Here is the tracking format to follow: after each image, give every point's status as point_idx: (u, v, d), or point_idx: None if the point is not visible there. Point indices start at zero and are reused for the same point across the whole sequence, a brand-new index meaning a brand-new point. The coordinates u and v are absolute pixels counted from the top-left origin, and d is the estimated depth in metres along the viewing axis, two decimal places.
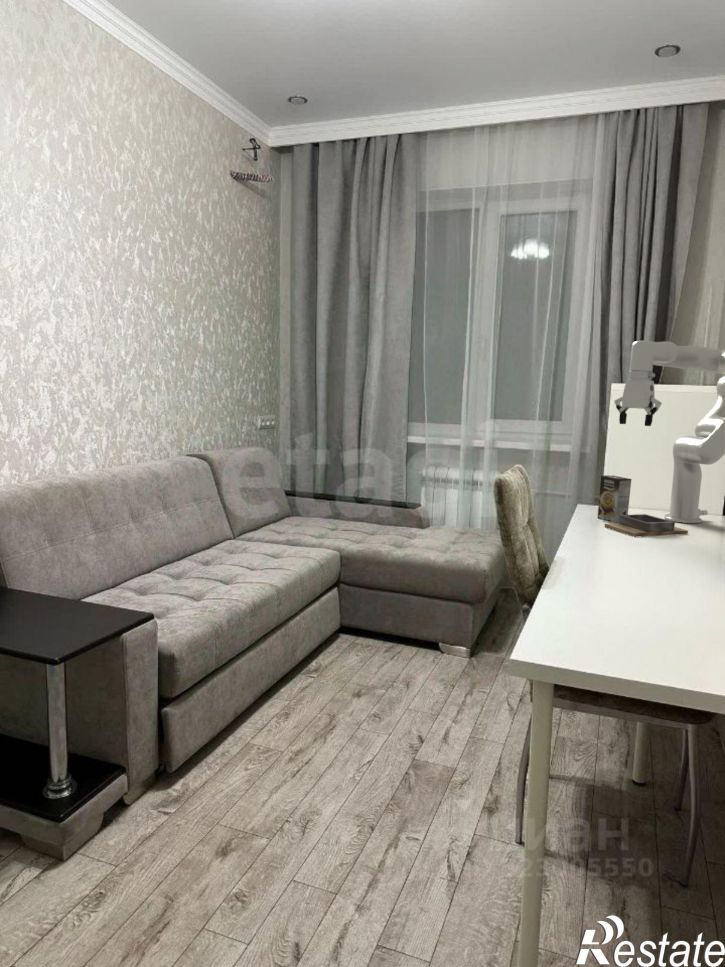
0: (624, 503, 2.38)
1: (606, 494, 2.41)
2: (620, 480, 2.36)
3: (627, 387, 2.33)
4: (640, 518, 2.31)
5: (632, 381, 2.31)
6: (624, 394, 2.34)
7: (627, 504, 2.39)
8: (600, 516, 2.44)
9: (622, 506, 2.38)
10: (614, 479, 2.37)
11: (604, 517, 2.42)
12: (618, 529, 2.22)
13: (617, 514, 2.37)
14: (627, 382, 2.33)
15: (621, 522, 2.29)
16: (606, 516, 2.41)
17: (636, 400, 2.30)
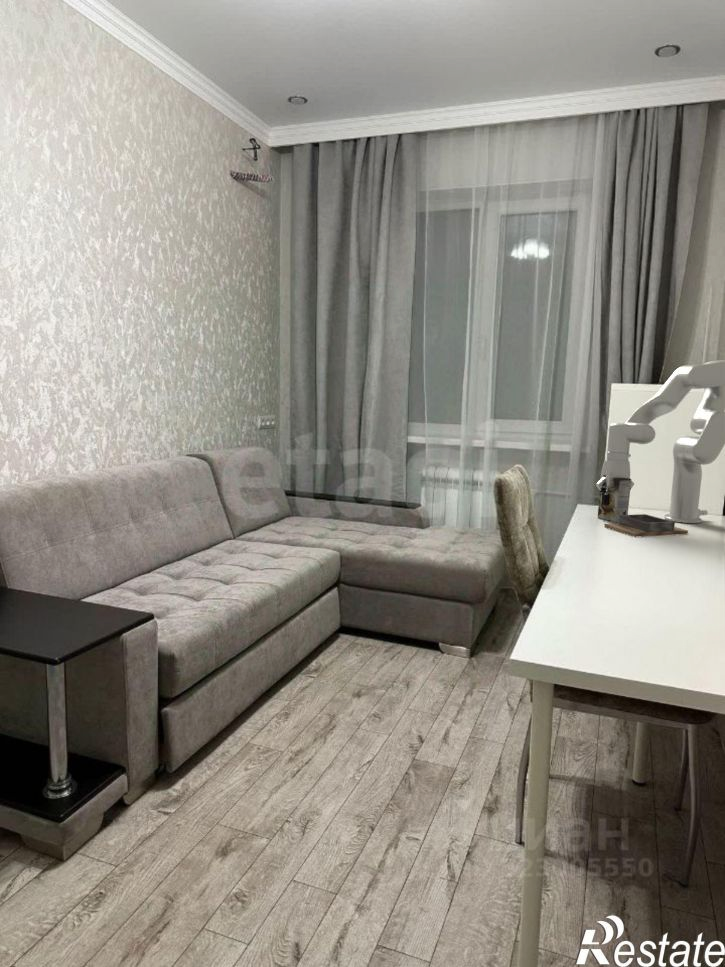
0: (624, 503, 2.38)
1: None
2: (620, 480, 2.36)
3: (614, 468, 2.37)
4: (640, 518, 2.31)
5: (618, 462, 2.37)
6: (610, 475, 2.37)
7: (627, 504, 2.39)
8: (600, 516, 2.44)
9: (622, 506, 2.38)
10: (614, 479, 2.37)
11: (604, 517, 2.42)
12: (618, 529, 2.22)
13: (617, 513, 2.37)
14: (613, 463, 2.37)
15: (621, 522, 2.29)
16: (606, 516, 2.41)
17: None
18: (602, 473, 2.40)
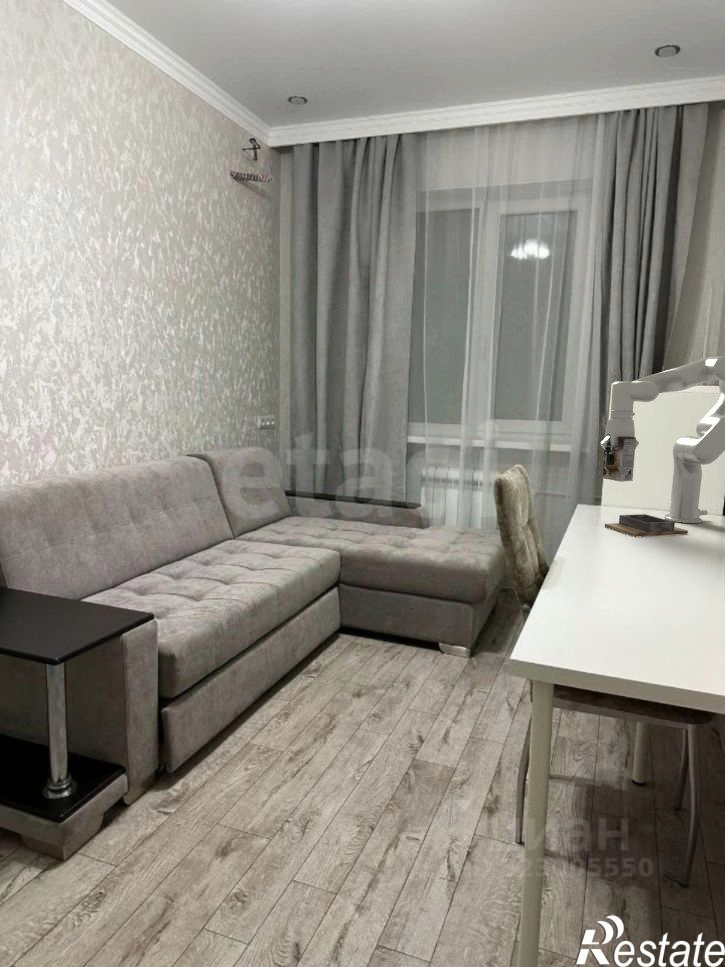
0: (629, 462, 2.36)
1: None
2: (624, 438, 2.33)
3: (618, 427, 2.35)
4: (640, 518, 2.31)
5: (623, 421, 2.35)
6: (615, 434, 2.35)
7: (632, 463, 2.37)
8: (605, 476, 2.42)
9: (627, 465, 2.36)
10: (618, 438, 2.35)
11: (609, 477, 2.40)
12: (618, 529, 2.22)
13: (622, 473, 2.35)
14: (617, 422, 2.35)
15: (621, 522, 2.29)
16: (611, 476, 2.39)
17: None
18: (606, 432, 2.38)
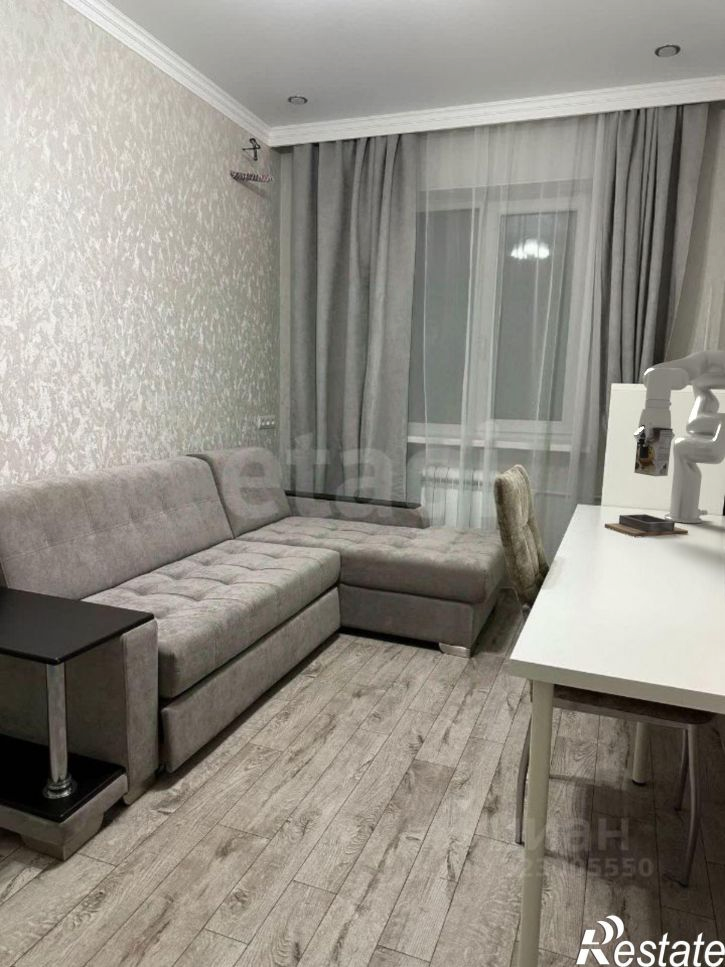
0: (665, 455, 2.18)
1: None
2: (661, 430, 2.15)
3: (654, 417, 2.16)
4: (640, 518, 2.31)
5: (659, 411, 2.16)
6: (650, 425, 2.17)
7: (668, 457, 2.18)
8: (637, 471, 2.24)
9: (663, 459, 2.17)
10: (654, 429, 2.17)
11: (642, 471, 2.22)
12: (618, 529, 2.22)
13: (657, 467, 2.17)
14: (653, 412, 2.16)
15: (621, 522, 2.29)
16: (645, 470, 2.21)
17: None
18: (640, 423, 2.20)
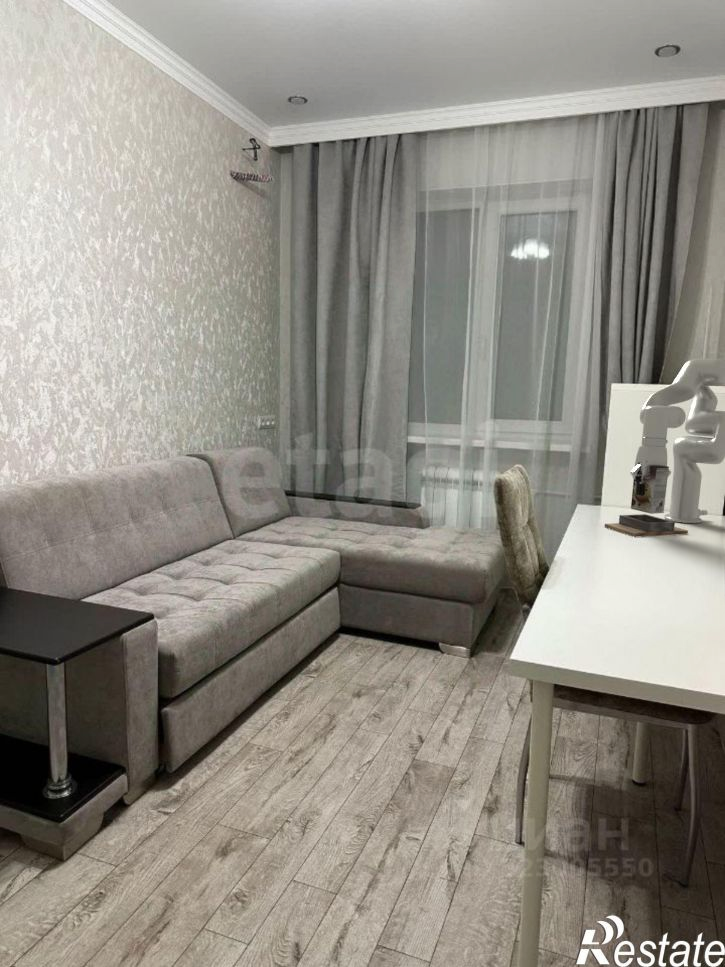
0: (661, 493, 2.19)
1: None
2: (657, 468, 2.17)
3: (650, 455, 2.18)
4: (640, 518, 2.31)
5: (655, 449, 2.18)
6: (646, 462, 2.18)
7: (664, 494, 2.20)
8: (634, 507, 2.25)
9: (659, 496, 2.19)
10: (650, 467, 2.18)
11: (638, 508, 2.23)
12: (618, 529, 2.22)
13: (653, 504, 2.19)
14: (649, 450, 2.18)
15: (621, 522, 2.29)
16: (641, 507, 2.22)
17: None
18: (637, 460, 2.21)
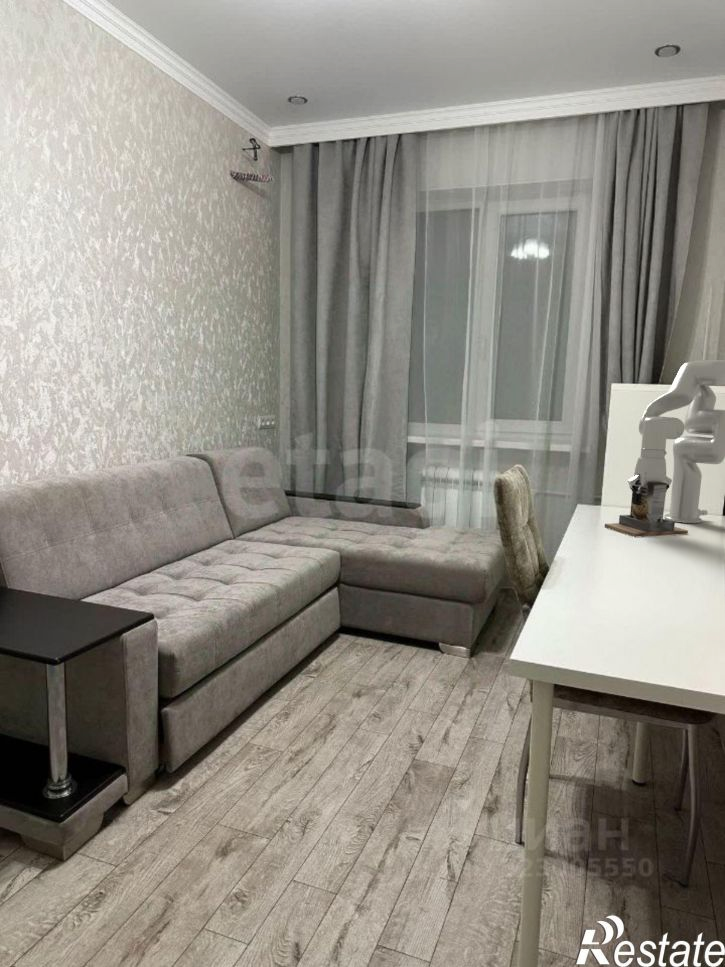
0: (659, 509, 2.20)
1: None
2: (654, 484, 2.18)
3: (649, 466, 2.19)
4: None
5: (654, 460, 2.19)
6: (645, 474, 2.19)
7: (662, 511, 2.21)
8: None
9: (657, 513, 2.20)
10: (648, 483, 2.19)
11: None
12: (618, 529, 2.22)
13: (651, 521, 2.20)
14: (648, 461, 2.19)
15: (621, 522, 2.29)
16: None
17: (657, 480, 2.21)
18: (636, 472, 2.22)
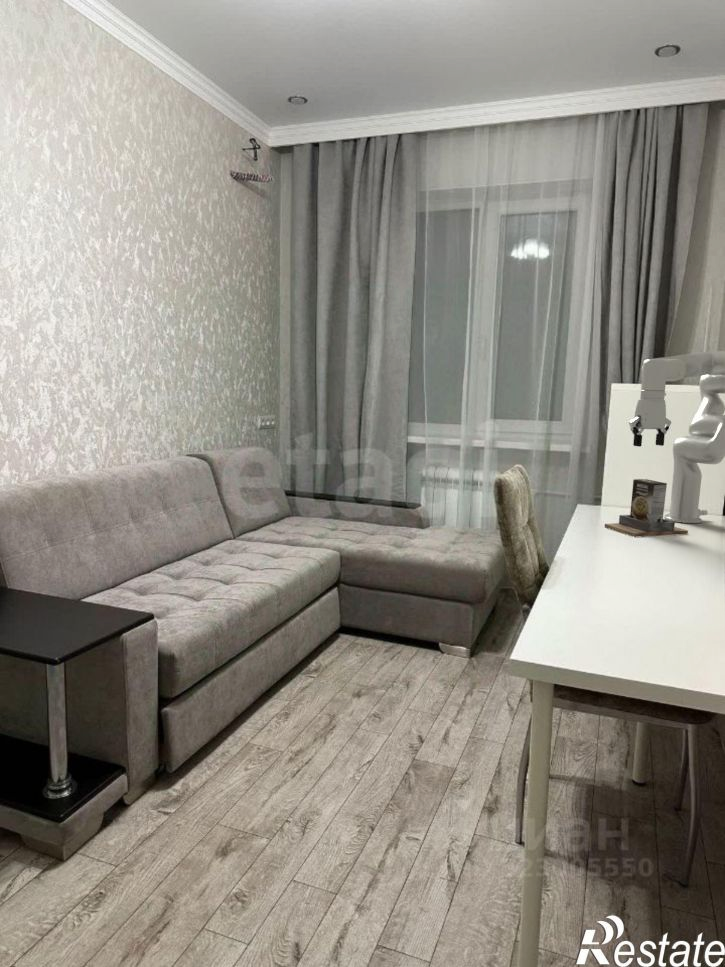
0: (659, 509, 2.20)
1: (639, 500, 2.23)
2: (654, 484, 2.18)
3: (649, 407, 2.20)
4: None
5: (654, 401, 2.21)
6: (646, 415, 2.21)
7: (662, 511, 2.21)
8: None
9: (657, 513, 2.20)
10: (648, 483, 2.19)
11: None
12: (618, 529, 2.22)
13: (651, 521, 2.20)
14: (648, 402, 2.20)
15: (621, 522, 2.29)
16: None
17: (657, 421, 2.23)
18: (636, 414, 2.24)
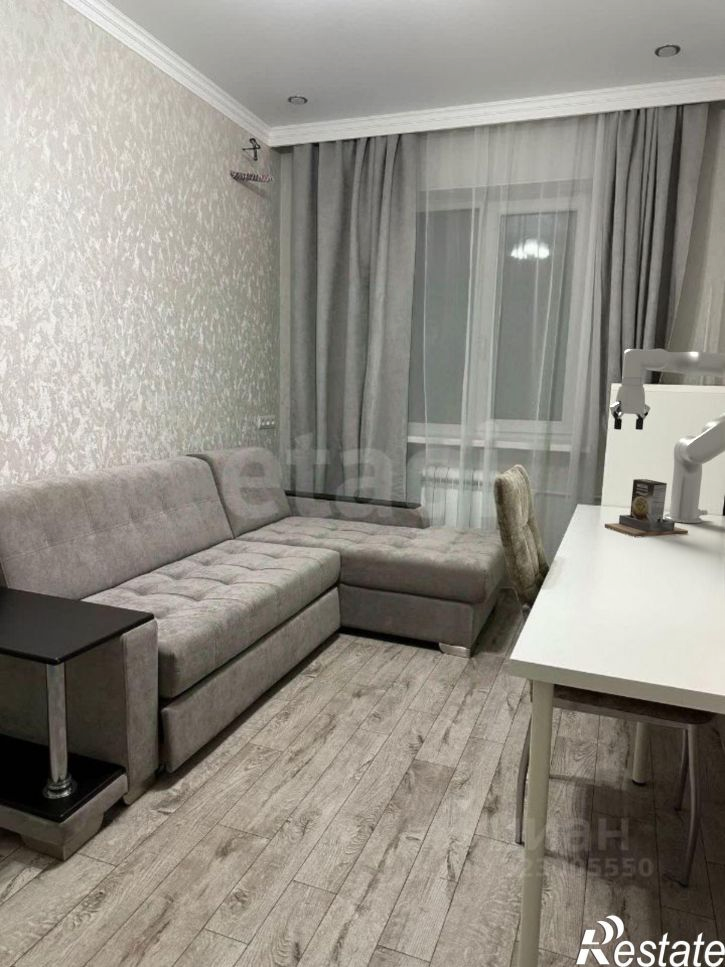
0: (659, 509, 2.20)
1: (639, 500, 2.23)
2: (654, 484, 2.18)
3: (629, 393, 2.39)
4: None
5: (633, 388, 2.39)
6: (625, 400, 2.39)
7: (662, 511, 2.21)
8: None
9: (657, 513, 2.20)
10: (648, 483, 2.19)
11: None
12: (618, 529, 2.22)
13: (651, 521, 2.20)
14: (628, 389, 2.39)
15: (621, 522, 2.29)
16: None
17: (636, 406, 2.41)
18: (617, 399, 2.42)
